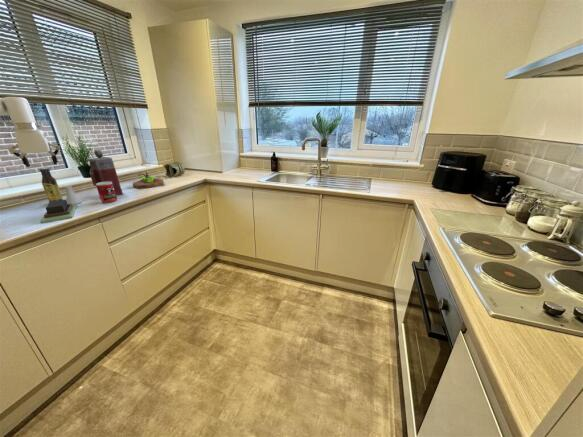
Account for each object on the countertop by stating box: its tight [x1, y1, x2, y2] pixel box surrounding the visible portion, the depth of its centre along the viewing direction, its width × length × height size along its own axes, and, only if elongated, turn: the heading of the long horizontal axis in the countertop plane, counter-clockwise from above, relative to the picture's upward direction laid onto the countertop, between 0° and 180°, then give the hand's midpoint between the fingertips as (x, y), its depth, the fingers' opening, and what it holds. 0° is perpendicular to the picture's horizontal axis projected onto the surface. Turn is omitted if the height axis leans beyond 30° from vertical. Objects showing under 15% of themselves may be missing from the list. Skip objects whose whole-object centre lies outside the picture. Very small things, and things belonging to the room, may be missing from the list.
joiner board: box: [40, 204, 78, 224], centre depth 121 cm, size 11×22×3 cm, turn 35°
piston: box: [163, 161, 186, 179], centre depth 201 cm, size 11×12×11 cm
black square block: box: [45, 203, 67, 214], centre depth 118 cm, size 6×6×4 cm
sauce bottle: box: [38, 167, 64, 203], centre depth 138 cm, size 7×6×20 cm
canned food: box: [95, 181, 118, 204], centre depth 138 cm, size 8×8×11 cm
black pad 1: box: [47, 199, 69, 210], centre depth 123 cm, size 6×6×4 cm
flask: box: [63, 185, 83, 205], centre depth 137 cm, size 7×7×10 cm
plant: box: [132, 169, 165, 190], centre depth 174 cm, size 20×20×11 cm
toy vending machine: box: [88, 149, 124, 197], centre depth 147 cm, size 9×11×28 cm
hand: (42, 165), depth 115 cm, fingers open, 9 cm apart
